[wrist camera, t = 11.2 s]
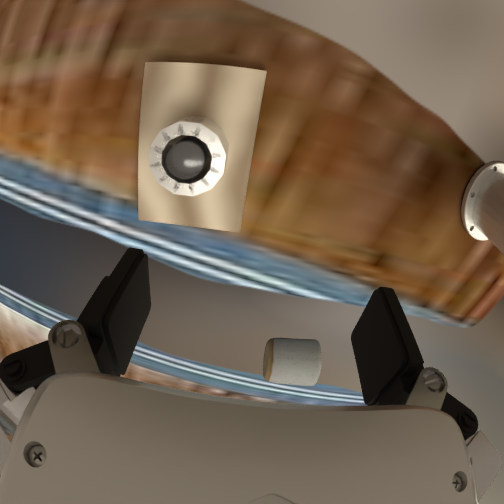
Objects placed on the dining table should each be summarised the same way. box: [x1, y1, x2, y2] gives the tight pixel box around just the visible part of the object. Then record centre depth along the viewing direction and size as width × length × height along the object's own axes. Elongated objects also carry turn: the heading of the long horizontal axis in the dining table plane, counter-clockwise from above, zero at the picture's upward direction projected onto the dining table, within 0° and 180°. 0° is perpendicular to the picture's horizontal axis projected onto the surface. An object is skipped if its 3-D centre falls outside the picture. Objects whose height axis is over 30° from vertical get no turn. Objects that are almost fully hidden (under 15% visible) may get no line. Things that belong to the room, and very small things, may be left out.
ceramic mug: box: [263, 338, 322, 386], centre depth 45 cm, size 11×8×8 cm
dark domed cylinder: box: [166, 135, 210, 179], centre depth 27 cm, size 3×3×4 cm
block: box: [138, 62, 267, 233], centre depth 29 cm, size 12×18×2 cm, turn 171°
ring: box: [149, 116, 229, 196], centre depth 27 cm, size 7×7×4 cm
